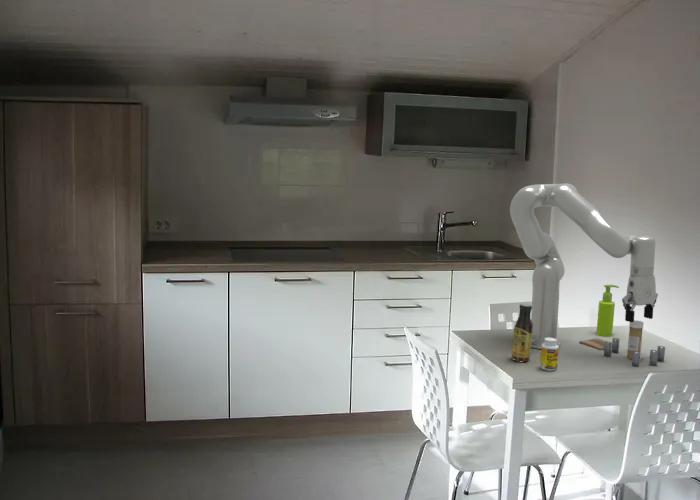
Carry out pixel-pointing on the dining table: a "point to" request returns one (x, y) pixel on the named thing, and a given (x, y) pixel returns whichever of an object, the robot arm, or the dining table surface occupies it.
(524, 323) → the sauce bottle
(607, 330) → the soap dispenser
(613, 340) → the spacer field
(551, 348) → the supplement bottle
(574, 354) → the dining table surface
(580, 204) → the robot arm
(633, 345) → the sprinkles bottle
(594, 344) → the walnut pad
